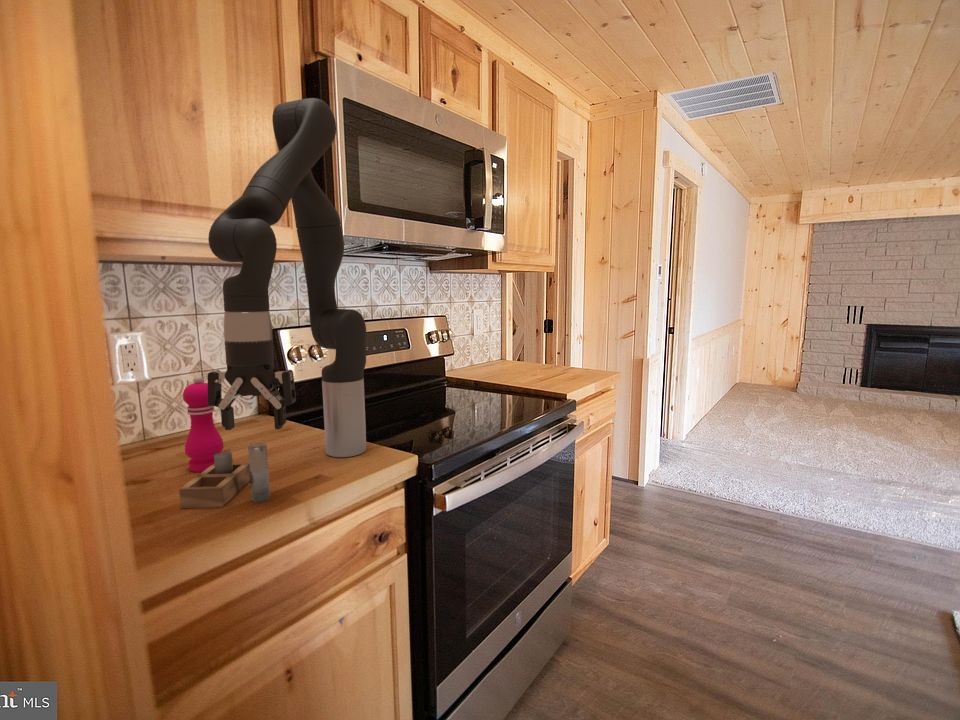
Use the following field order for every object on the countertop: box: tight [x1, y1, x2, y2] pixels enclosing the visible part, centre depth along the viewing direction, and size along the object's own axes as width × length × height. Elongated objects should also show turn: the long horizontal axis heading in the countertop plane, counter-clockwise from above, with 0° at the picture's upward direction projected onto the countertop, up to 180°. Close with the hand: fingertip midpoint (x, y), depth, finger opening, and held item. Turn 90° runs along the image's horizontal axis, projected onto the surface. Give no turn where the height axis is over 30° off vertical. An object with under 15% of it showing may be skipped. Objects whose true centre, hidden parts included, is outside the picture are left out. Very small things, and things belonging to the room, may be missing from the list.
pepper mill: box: [182, 374, 225, 473], centre depth 102 cm, size 7×7×20 cm
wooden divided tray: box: [178, 451, 251, 509], centre depth 89 cm, size 12×7×6 cm, turn 3°
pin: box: [247, 443, 271, 503], centre depth 87 cm, size 3×3×10 cm
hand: (254, 428), depth 85 cm, fingers open, 8 cm apart
